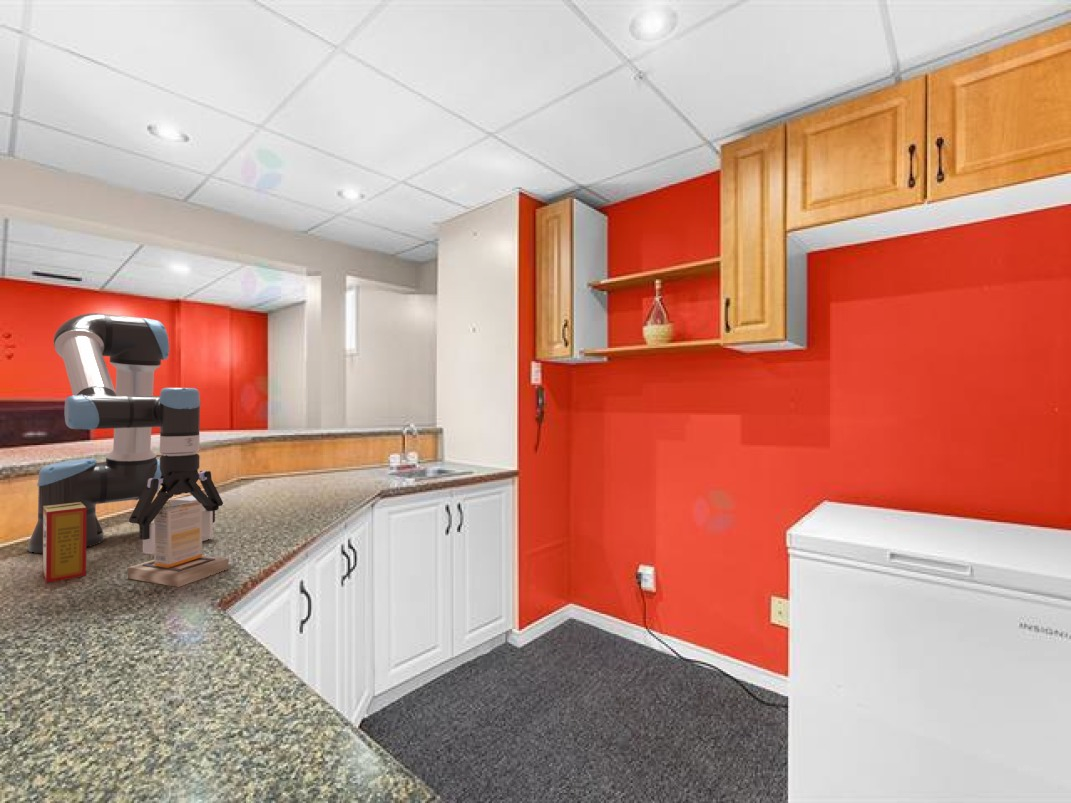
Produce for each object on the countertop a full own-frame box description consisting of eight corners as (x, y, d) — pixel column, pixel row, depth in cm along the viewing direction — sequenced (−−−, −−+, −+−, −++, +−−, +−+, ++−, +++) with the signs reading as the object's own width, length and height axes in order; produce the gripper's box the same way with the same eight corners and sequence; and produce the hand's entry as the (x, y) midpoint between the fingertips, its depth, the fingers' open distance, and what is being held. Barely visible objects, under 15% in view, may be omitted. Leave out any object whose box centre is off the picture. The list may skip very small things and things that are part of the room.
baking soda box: (86, 575, 115) (86, 506, 115) (46, 582, 110) (46, 510, 110) (80, 566, 121) (80, 500, 121) (42, 572, 116) (43, 504, 116)
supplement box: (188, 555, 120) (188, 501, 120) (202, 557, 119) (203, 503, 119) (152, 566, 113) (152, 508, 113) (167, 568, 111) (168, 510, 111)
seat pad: (127, 578, 113) (127, 566, 113) (180, 562, 124) (180, 550, 124) (178, 587, 108) (178, 574, 108) (228, 569, 119) (228, 557, 119)
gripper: (133, 460, 103) (132, 562, 103) (239, 449, 127) (238, 532, 127) (108, 458, 105) (108, 559, 105) (217, 448, 129) (216, 530, 129)
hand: (179, 544), depth 116 cm, fingers open, 13 cm apart
